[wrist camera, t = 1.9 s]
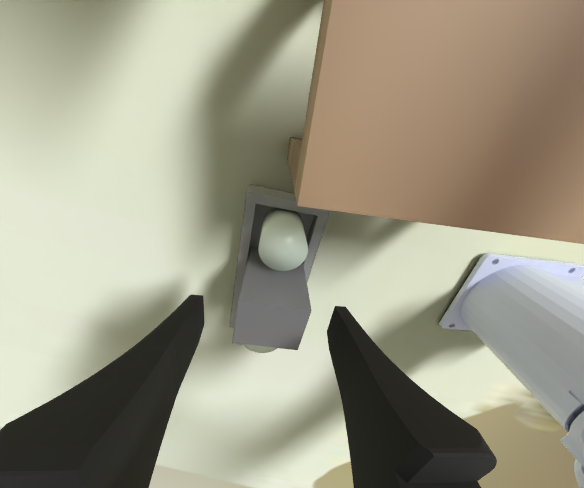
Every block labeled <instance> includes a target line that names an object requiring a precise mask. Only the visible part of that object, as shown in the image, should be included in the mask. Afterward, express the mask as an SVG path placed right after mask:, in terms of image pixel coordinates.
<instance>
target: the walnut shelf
mask: <svg viewBox="0 0 584 488" xmlns="http://www.w3.org/2000/svg"><path fill="white" fill-rule="evenodd" d="M287 160H288V165H289V169H290V174H291V178H292V183H293V188H294V192H295V197H296V201H297V206H301V207H309V208H316V209H324V210H331V211H339V212H346V213H354V214H362V215H369V216H377V217H384V218H392V219H399V220H407V221H414V222H422V223H429V224H437V225H445V226H452V227H460V228H467V229H475V230H482V231H490V232H497V233H505V234H512V235H520V236H528V237H535V238H543V239H550V240H558V241H565V242H573V243H580V244H584V0H324V4H323V11H322V17H321V23H320V30H319V36H318V42H317V49H316V55H315V62H314V68H313V74H312V81H311V87H310V93H309V100H308V106H307V112H306V119H305V125H304V132H303V138H302V140H301V139H295V138H290V143H289V150H288V158H287Z"/></svg>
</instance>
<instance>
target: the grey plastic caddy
mask: <svg viewBox="0 0 584 488" xmlns="http://www.w3.org/2000/svg"><path fill="white" fill-rule="evenodd" d="M329 211H330V210H324V209H316V208H309V207H301V206H297V201H296V197H295V194H294V193H290V192H285V191H280V190H275V189H270V188H266V187H261V186H256V185H251V184H250V186H249V188H248V190H247V193H246V201H245V209H244V216H243V224H242V232H241V240H240V247H239V255H238V263H237V271H236V278H235V286H234V294H233V302H232V309H231V317H230V325H229V327H235V328H234V335H233V342H232V343H236V344H244V345H245V346H246V347H247V348H248V349H249V350H251V351H254V352H258V353H267V352H271V351H273V350H275V349H277V348H283V349H293V350H298V347H299V344H300V342H301V339H302V336H303V333H304V330H305V327H306V325H307V322H308V319H309V316H310V313H311V306H310V300H309V294H308V288H307V281H308V278H309V275H310V271H311V268H312V265H313V262H314V259H315V256H316V252H317V249H318V246H319V243H320V240H321V236H322V233H323V230H324V227H325V224H326V220H327V217H328V214H329Z"/></svg>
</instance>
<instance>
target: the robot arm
mask: <svg viewBox="0 0 584 488" xmlns="http://www.w3.org/2000/svg"><path fill="white" fill-rule="evenodd" d="M583 276H584V265H582V264H574V263H566V262H557V261H549V260H541V259H532V258H524V257H516V256H507V255H499V254H491V253H488V254H484V255H483V256H482V257H481V258H480V259H479V261H478V263H477V264H476V266H475V267H474V269H473V270H472V272H471V274H470V275H469V277H468V278H467V280H466V281H465V283H464V284H463V286H462V288H461V289H460V291H459V292H458V294H457V295H456V297H455V299H454V300H453V302H452V303H451V305H450V306H449V308H448V310H447V311H446V313H445V314H444V316H443V317H442V319H441V321H440V322H439V325H440V326H441V327H442V328H443V329H454V330H467V331H473V332H474V333H475V334H476V335H477V336H478V337H479V338H480V339H481V341H482V342H483V343H484V344H485V345H486V346H487V347H488V348H489V349H490V350H491V351H492V352H493V353H494V354H495V355H496V357H497V358H498V359H499V360H500V361H501V362H502V363H503V364H504V365H505V366H506V367H507V368H508V369H509V370H510V371H511V372H512V374H513V375H514V376H515V377H516V378H517V379H518V380H519V381H520V382H521V383H522V384H523V385H524V386H525V387H526V388H527V389H528V391H529V392H530V393H531V394H532V395H533V396H534V397H535V398H536V399H537V400H538V401H539V402H540V403H541V404H542V405H543V406H544V408H545V409H546V410H547V411H548V412H549V413H550V414H551V415H552V416H553V417H554V418H555V419H556V420H557V421H558V422H559V423H560V425H561V426H562V427H563V428H564V429H565V430H566V431H567V432H568V434H567V435H566V436H565V437H564V438H562V439H561V442H562V443H563V445H564V446H565V447H566V448H567V449H568V450H569V451H570V452H571V453H572V455H573V456H574V457H575V458H576V460H575V464H574V470H575V475H576V478H577V482H578V484H579V486H580V488H584V279H582V277H583ZM203 326H204V304H203V296H201V295H190V296H189V297H188V298H187V299H186V300H185V301H184V302H183V303H182V304H181V305H180V306H179V307H178V308H177V309H176V310H175V311H174V312H173V313H172V314H171V315H170V316H169V317H167V318H166V319H165V320H164V321H163V322H162V323H161V324H160V325H159V326H158V327H157V328H155V329H154V330H153V331H152V332H151V333H150V334H148V335H147V336H146V337H145V338H144V339H142V340H141V341H140V342H139V343H137V344H136V345H135V346H134V347H132V348H131V349H130V350H128V351H127V352H126V353H124V354H123V355H122V356H120V357H119V358H118V359H116V360H115V361H113V362H112V363H110V364H109V365H107V366H106V367H105V368H103V369H102V370H100V371H99V372H97V373H96V374H94V375H92V376H91V377H89V378H88V379H86V380H84V381H83V382H81V383H80V384H78V385H76V386H75V387H73V388H71V389H70V390H68V391H66V392H65V393H63V394H61V395H60V396H58V397H56V398H54V399H53V400H51V401H49V402H47V403H45V404H43V405H42V406H40V407H38V408H36V409H34V410H32V411H30V412H29V413H27V414H25V415H23V416H21V417H19V418H17V419H15V420H14V421H12V422H10V423H8V424H6V425H5V426H4V427H3V428H2V429H1V430H0V488H148V487H149V484H150V480H151V476H152V474H153V470H154V467H155V463H156V460H157V457H158V453H159V450H160V446H161V443H162V440H163V437H164V434H165V430H166V427H167V424H168V421H169V418H170V414H171V411H172V408H173V405H174V402H175V399H176V396H177V394H178V391H179V388H180V386H181V383H182V381H183V379H184V376H185V374H186V372H187V369H188V367H189V365H190V362H191V360H192V358H193V355H194V353H195V350H196V348H197V346H198V343H199V340H200V337H201V333H202V330H203ZM327 336H328V344H329V350H330V354H331V358H332V362H333V366H334V370H335V374H336V378H337V382H338V386H339V390H340V394H341V399H342V404H343V410H344V416H345V422H346V429H347V436H348V443H349V450H350V458H351V465H352V474H353V483H354V488H481V487H480V485H479V483H478V482H477V481H478V480H479V479H481V478H482V477H483V476H485V475H486V474H488V473H489V472H490V471H491V470H493V469H494V468H495V466H496V462H497V460H496V457H495V456H494V454H493V453H492V451H491V450H490V448H489V447H488V445H487V444H486V442H485V441H484V439H483V437H482V436H481V434H480V433H479V431H478V430H477V429H476V428H474V427H473V426H471V425H470V424H468V423H467V422H466V421H464V420H463V419H461V418H460V417H458V416H457V415H455V414H454V413H453V412H451V411H450V410H448V409H447V408H446V407H444V406H443V405H442V404H440V403H439V402H438V401H437V400H435V399H434V398H433V397H431V396H430V395H429V394H428V393H426V392H425V391H424V390H423V389H421V388H420V387H419V386H418V385H417V384H416V383H414V382H413V381H412V380H411V379H410V378H409V377H408V376H406V375H405V374H404V373H403V372H402V371H401V370H400V369H399V368H398V367H397V366H396V365H395V364H394V363H393V362H392V361H391V360H390V359H389V358H388V357H387V356H386V355H385V354H384V353H383V352H382V351H381V350H380V349H379V347H378V346H377V345H376V344H375V343H374V342H373V341H372V339H371V338H370V337H369V336H368V335H367V333H366V332H365V331H364V330H363V329H362V327H361V326H360V325H359V324H358V322H357V321H356V320H355V318H354V317H353V316H352V315H351V313H350V312H349V311H348V309H347V308H346V307H340V306H335V308H334V311H333V314H332V317H331V320H330V324H329V327H328V330H327Z"/></svg>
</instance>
